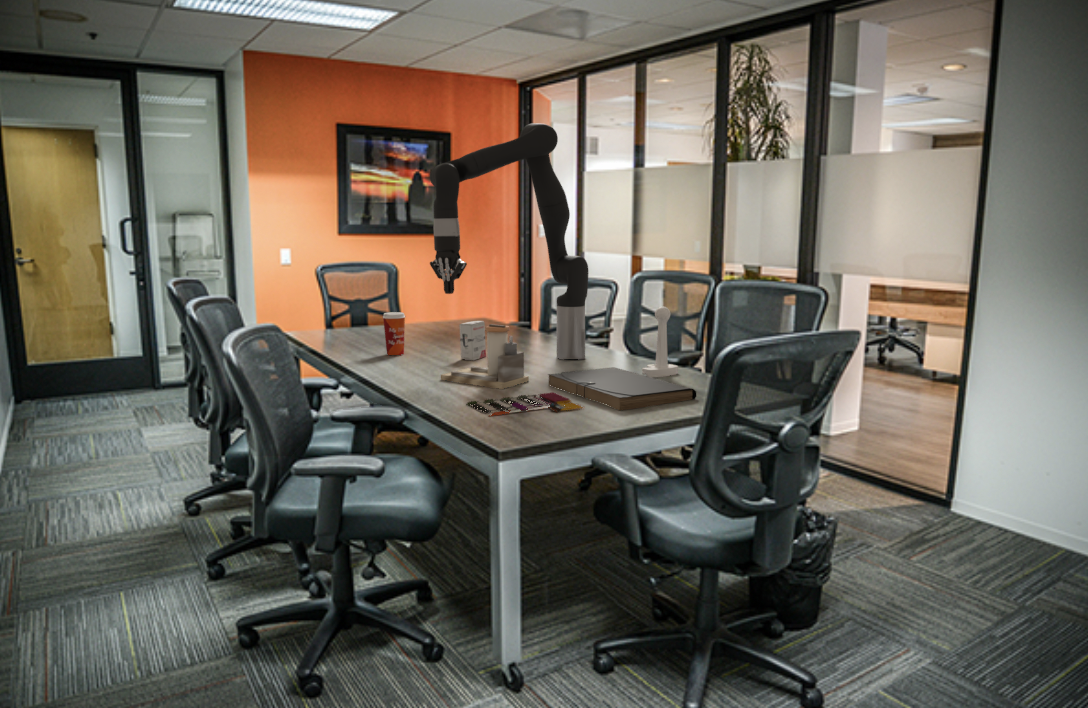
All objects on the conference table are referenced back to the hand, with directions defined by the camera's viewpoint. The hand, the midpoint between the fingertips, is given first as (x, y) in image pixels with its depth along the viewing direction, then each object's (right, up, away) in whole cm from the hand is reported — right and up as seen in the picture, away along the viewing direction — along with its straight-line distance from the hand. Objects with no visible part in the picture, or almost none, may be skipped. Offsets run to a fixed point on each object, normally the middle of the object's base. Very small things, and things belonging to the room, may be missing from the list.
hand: (449, 293), depth 225 cm
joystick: (+61, -24, -2) cm, 66 cm away
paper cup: (-22, -18, +32) cm, 43 cm away
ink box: (+5, -19, +25) cm, 32 cm away
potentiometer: (+19, -18, -18) cm, 31 cm away
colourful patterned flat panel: (+24, -32, -41) cm, 57 cm away
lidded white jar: (+15, -24, -14) cm, 32 cm away
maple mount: (+11, -25, -11) cm, 30 cm away
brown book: (+48, -29, -25) cm, 61 cm away
